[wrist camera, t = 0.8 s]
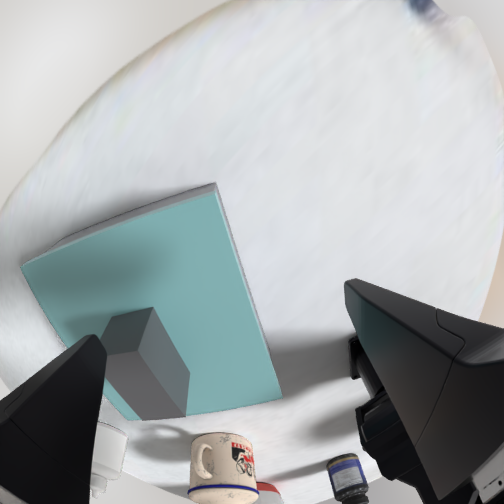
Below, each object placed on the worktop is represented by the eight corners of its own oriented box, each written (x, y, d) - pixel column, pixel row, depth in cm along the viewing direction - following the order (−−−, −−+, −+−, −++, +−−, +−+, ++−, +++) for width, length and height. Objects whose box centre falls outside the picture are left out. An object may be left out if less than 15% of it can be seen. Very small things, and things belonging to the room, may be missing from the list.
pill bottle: (351, 462, 41) (366, 506, 31) (322, 469, 41) (334, 515, 31) (361, 449, 39) (378, 497, 29) (330, 456, 38) (344, 507, 28)
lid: (278, 378, 23) (291, 438, 17) (131, 403, 23) (119, 454, 17) (216, 186, 16) (210, 215, 10) (35, 254, 17) (-13, 296, 11)
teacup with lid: (262, 450, 35) (271, 516, 24) (208, 460, 35) (208, 522, 25) (229, 414, 30) (234, 499, 19) (166, 426, 31) (158, 502, 20)
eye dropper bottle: (105, 417, 30) (86, 489, 19) (133, 437, 32) (121, 505, 21) (88, 421, 30) (69, 487, 19) (115, 440, 33) (101, 503, 22)
